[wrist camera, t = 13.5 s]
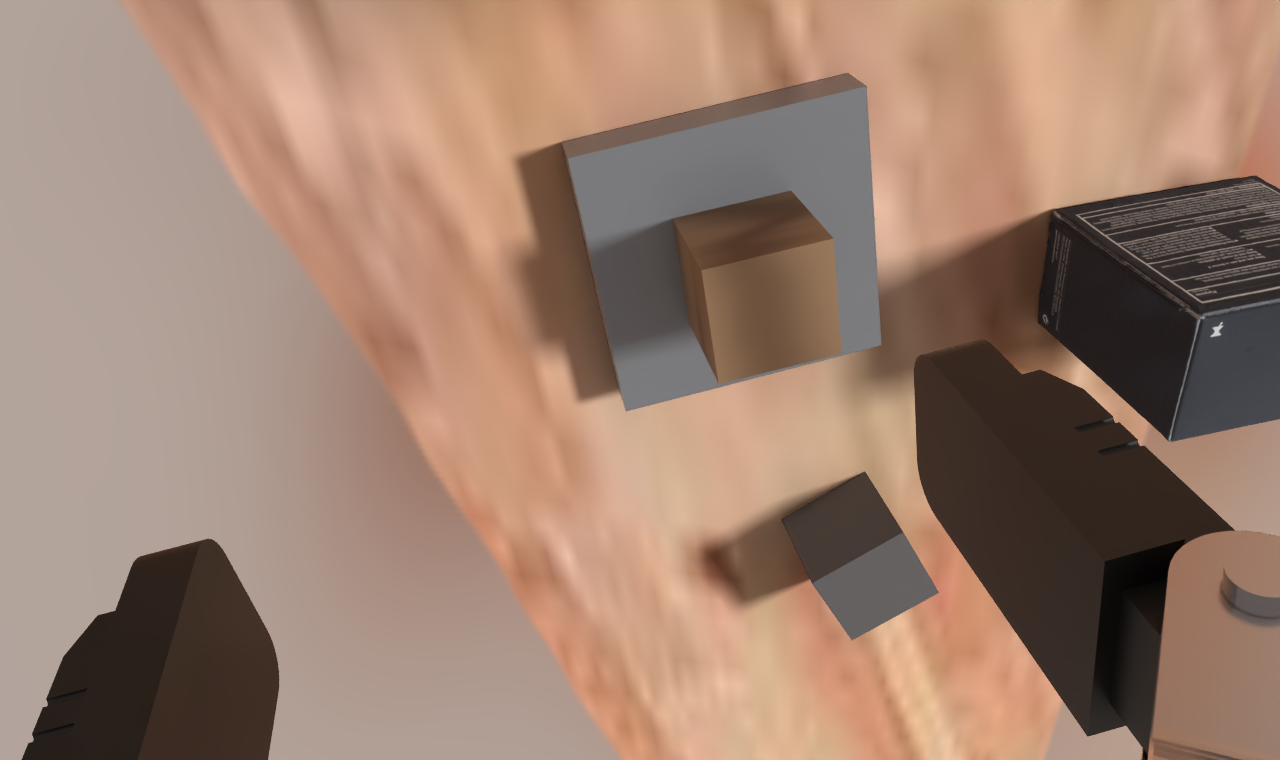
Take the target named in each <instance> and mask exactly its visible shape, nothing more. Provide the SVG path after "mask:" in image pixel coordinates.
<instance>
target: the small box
mask: <svg viewBox="0 0 1280 760" xmlns="http://www.w3.org/2000/svg"><path fill="white" fill-rule="evenodd" d="M1049 231H1050V237H1049V241H1048V251H1047V258H1046V265H1045V272H1044V276H1043V285H1042V291H1041V293H1040V304H1039V316H1038V323H1039V324H1040V325H1042V326H1043V327H1044V328H1045V329H1046V330H1047V331H1049V332H1050V333H1051V334H1052V335H1053V336H1054V337H1055V338H1056V339H1058V340H1059V341H1060V342H1061V343H1062V344H1063V345H1064V346H1065V347H1066V348H1067V349H1069V350H1070V351H1071V352H1072V353H1073V354H1074V355H1075V356H1076V357H1077V358H1078V359H1080V360H1081V361H1082V362H1083V363H1084V364H1085V365H1086V366H1087V367H1089V368H1090V369H1091V370H1092V371H1093V372H1094V373H1095V374H1096V375H1097V376H1098V377H1100V378H1101V379H1102V380H1103V381H1104V382H1105V383H1106V384H1107V385H1109V386H1110V387H1111V388H1112V389H1113V390H1114V391H1115V392H1116V393H1117V394H1118V395H1119V396H1120V397H1121V398H1122V399H1124V400H1125V401H1126V402H1127V403H1128V404H1129V405H1130V406H1131V407H1133V408H1134V409H1135V410H1136V411H1137V412H1138V413H1139V414H1140V415H1141V416H1142V417H1144V418H1145V419H1146V420H1147V421H1148V422H1149V423H1150V424H1151V425H1152V426H1154V427H1155V428H1156V429H1157V430H1158V431H1159V432H1160V433H1161V434H1162V435H1163V436H1164V437H1165V438H1166V439H1167V440H1168V441H1169V442H1173V441H1177V440H1182V439H1186V438H1191V437H1196V436H1201V435H1206V434H1211V433H1215V432H1220V431H1224V430H1229V429H1234V428H1239V427H1243V426H1248V425H1253V424H1258V423H1263V422H1267V421H1272V420H1277V419H1280V189H1278V188H1277V187H1275V186H1273V185H1271V184H1269V183H1267V182H1265V181H1264V180H1263V179H1261V178H1259V177H1257V176H1249V177H1243V178H1237V179H1229V180H1224V181H1219V182H1214V183H1207V184H1201V185H1195V186H1189V187H1185V188H1178V189H1172V190H1167V191H1161V192H1155V193H1149V194H1143V195H1138V196H1131V197H1126V198H1120V199H1114V200H1109V201H1102V202H1097V203H1091V204H1086V205H1080V206H1074V207H1069V208H1064V209H1057V210H1055V211H1054V213H1053V214H1052V217H1051V222H1050V230H1049Z"/></svg>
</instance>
